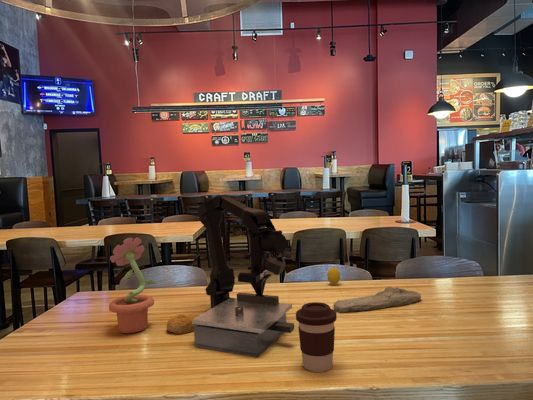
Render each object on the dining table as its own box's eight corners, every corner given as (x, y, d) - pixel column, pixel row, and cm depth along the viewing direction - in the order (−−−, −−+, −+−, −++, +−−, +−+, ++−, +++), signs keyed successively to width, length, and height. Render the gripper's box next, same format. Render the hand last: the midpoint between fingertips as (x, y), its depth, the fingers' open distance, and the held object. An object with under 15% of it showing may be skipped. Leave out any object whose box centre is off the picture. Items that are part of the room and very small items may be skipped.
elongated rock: (327, 311, 141) (341, 322, 132) (327, 297, 141) (340, 307, 131) (409, 294, 152) (427, 303, 142) (409, 281, 151) (427, 289, 142)
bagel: (204, 324, 130) (204, 309, 129) (188, 337, 119) (187, 321, 119) (178, 321, 133) (177, 308, 132) (160, 334, 122) (159, 319, 122)
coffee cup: (294, 358, 101) (292, 301, 101) (332, 355, 102) (330, 298, 102) (301, 377, 92) (299, 314, 91) (342, 374, 92) (340, 311, 92)
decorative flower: (146, 317, 137) (141, 232, 136) (166, 327, 127) (161, 235, 126) (103, 330, 127) (97, 238, 126) (121, 341, 117) (116, 241, 116)
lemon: (340, 286, 167) (339, 268, 167) (327, 286, 168) (326, 268, 168) (340, 283, 173) (340, 265, 172) (327, 283, 174) (327, 265, 173)
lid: (192, 323, 112) (191, 311, 112) (231, 301, 132) (230, 290, 132) (261, 333, 103) (261, 319, 102) (292, 307, 123) (291, 296, 122)
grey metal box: (194, 346, 111) (193, 325, 111) (230, 322, 129) (229, 304, 129) (278, 361, 100) (278, 338, 100) (305, 332, 118) (304, 313, 118)
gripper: (269, 256, 115) (271, 309, 115) (291, 245, 132) (293, 291, 132) (235, 254, 119) (238, 305, 120) (261, 244, 136) (263, 289, 137)
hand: (260, 297), depth 127 cm, fingers closed
